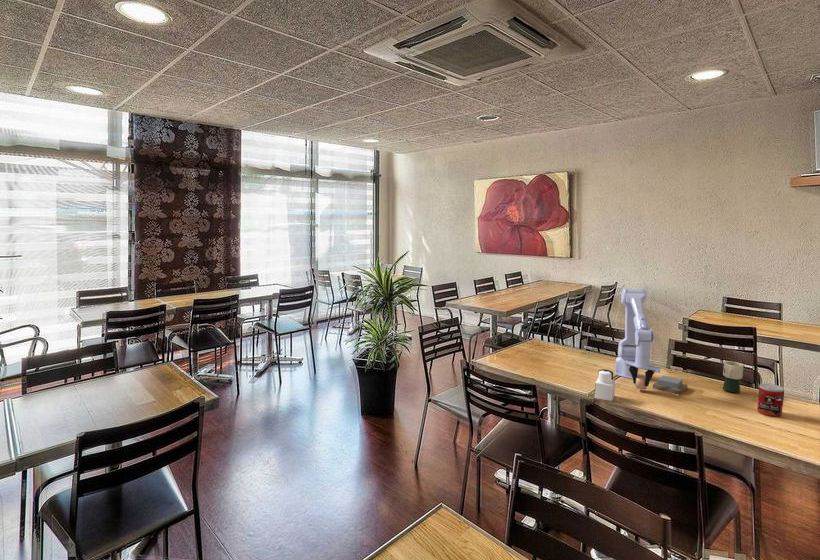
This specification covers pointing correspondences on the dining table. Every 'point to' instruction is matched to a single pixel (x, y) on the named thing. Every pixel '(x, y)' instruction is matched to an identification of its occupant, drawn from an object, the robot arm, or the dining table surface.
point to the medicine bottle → (605, 385)
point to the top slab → (670, 382)
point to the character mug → (732, 376)
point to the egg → (640, 382)
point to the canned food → (770, 400)
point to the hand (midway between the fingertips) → (640, 384)
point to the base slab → (670, 390)
